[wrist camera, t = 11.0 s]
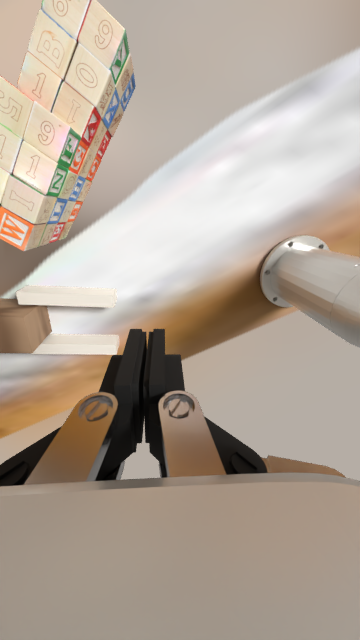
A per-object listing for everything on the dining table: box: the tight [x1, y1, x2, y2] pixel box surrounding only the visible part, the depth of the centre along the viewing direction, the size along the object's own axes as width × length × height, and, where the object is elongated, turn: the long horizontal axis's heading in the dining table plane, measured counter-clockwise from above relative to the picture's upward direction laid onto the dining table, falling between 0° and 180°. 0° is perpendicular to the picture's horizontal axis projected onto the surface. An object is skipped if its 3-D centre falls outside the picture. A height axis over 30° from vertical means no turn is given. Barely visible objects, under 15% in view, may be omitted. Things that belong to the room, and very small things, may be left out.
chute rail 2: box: [31, 334, 119, 355], centre depth 39 cm, size 14×2×4 cm, turn 85°
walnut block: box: [0, 298, 52, 353], centre depth 35 cm, size 7×6×7 cm
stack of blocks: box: [0, 0, 135, 251], centre depth 24 cm, size 21×6×12 cm, turn 145°
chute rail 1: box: [16, 285, 117, 308], centre depth 35 cm, size 14×2×4 cm, turn 85°
